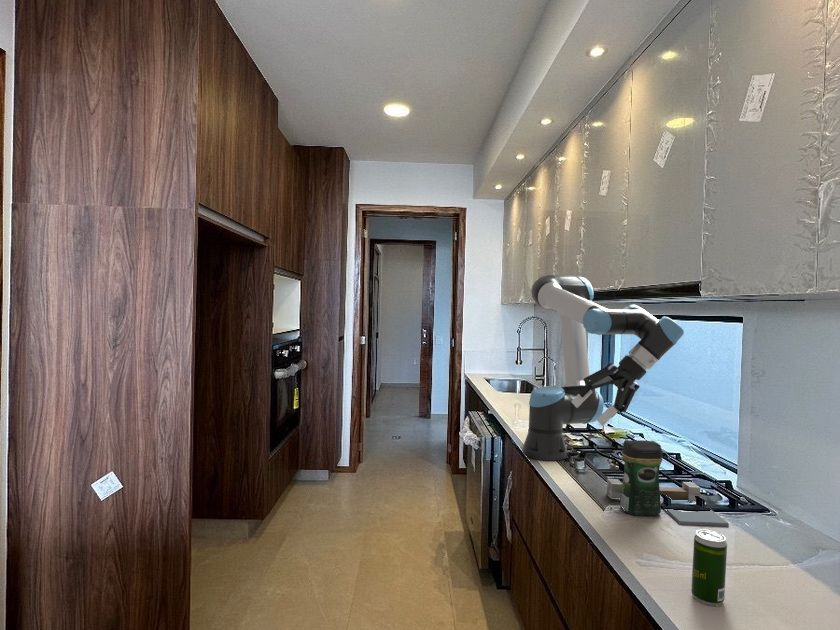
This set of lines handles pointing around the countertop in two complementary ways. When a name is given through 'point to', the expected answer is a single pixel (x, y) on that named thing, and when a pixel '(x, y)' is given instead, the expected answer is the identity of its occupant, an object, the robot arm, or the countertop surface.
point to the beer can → (709, 567)
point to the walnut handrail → (684, 493)
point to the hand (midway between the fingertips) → (587, 414)
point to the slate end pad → (697, 518)
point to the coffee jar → (641, 477)
